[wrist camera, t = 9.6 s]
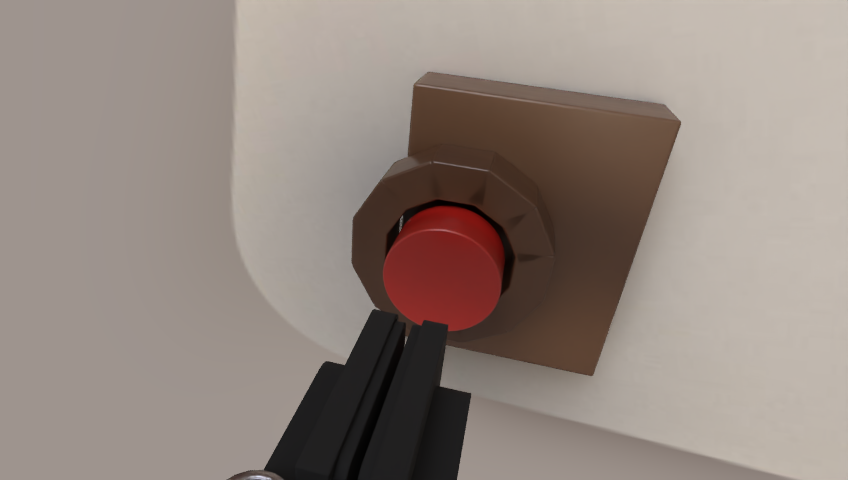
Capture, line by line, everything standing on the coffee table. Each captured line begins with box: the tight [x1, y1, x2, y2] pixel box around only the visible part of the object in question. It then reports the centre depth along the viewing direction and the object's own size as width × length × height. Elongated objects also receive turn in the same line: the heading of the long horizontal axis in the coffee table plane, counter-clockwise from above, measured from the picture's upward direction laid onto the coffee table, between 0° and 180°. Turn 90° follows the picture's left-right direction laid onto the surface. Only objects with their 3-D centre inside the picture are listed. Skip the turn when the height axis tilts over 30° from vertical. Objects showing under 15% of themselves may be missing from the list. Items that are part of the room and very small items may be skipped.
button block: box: [352, 72, 681, 376], centre depth 18 cm, size 10×9×4 cm
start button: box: [383, 206, 505, 331], centre depth 16 cm, size 4×4×2 cm
